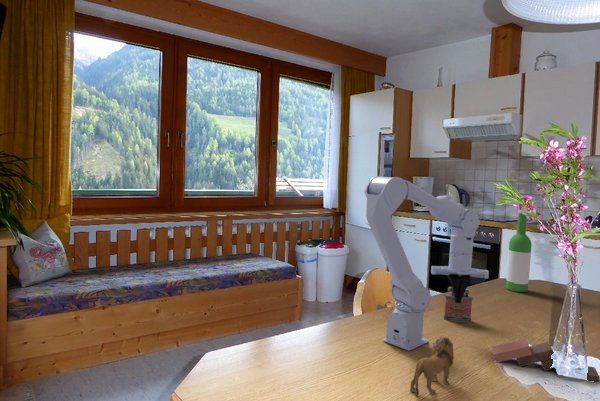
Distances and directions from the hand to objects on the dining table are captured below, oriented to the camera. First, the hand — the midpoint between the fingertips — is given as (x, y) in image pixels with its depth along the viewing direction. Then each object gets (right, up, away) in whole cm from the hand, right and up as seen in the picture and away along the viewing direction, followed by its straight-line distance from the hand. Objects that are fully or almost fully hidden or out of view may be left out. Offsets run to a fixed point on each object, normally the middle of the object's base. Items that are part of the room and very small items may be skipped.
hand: (457, 302), depth 119 cm
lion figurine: (-15, -11, -27) cm, 33 cm away
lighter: (+5, -9, +14) cm, 17 cm away
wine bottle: (+41, -7, +51) cm, 66 cm away
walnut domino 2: (+14, -10, -17) cm, 24 cm away
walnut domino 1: (+9, -10, -15) cm, 20 cm away
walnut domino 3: (+16, -11, -18) cm, 27 cm away
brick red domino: (+4, -10, -13) cm, 17 cm away
